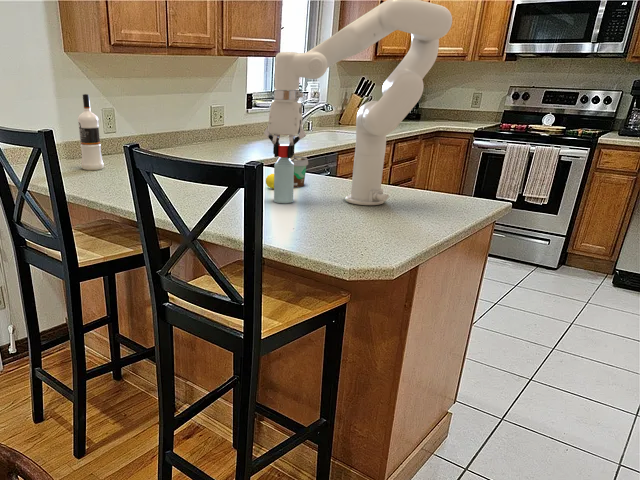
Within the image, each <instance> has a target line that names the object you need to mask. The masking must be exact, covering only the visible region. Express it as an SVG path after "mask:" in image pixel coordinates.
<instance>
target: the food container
mask: <svg viewBox="0 0 640 480" xmlns="http://www.w3.org/2000/svg"><path fill="white" fill-rule="evenodd" d="M291 161H292V162H293V164H294V188H302V187H304V186H305V180H306V173H307V166H308V165H309V160H308V158H307V157H306V156H300V155H293V159H292V160H291Z"/></svg>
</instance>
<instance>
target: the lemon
mask: <svg viewBox="0 0 640 480" xmlns="http://www.w3.org/2000/svg"><path fill="white" fill-rule="evenodd" d="M265 184H266V186H267V187H268V188H270V189H273V190H274V173H270V174H268V175H266V178H265Z"/></svg>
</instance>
